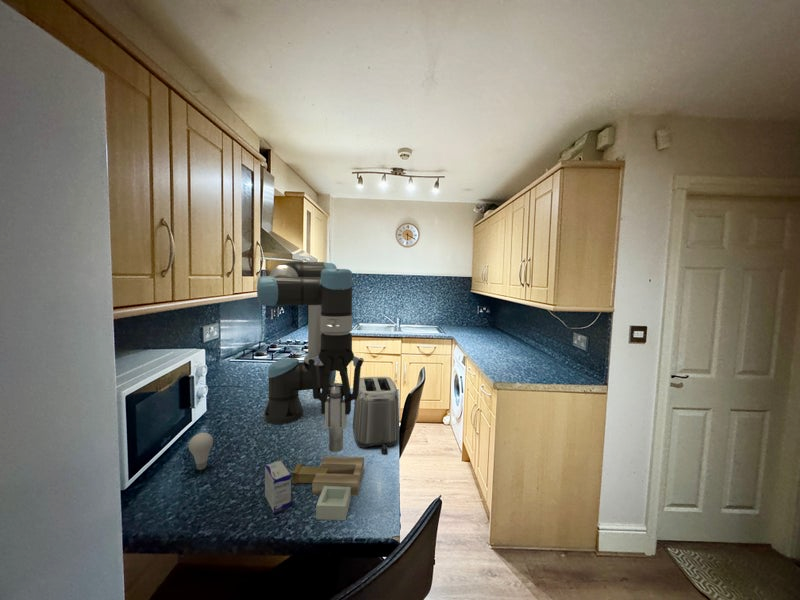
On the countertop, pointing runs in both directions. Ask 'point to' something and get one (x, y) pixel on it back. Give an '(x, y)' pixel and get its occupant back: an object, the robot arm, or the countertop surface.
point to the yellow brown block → (306, 473)
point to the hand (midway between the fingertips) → (336, 426)
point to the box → (278, 486)
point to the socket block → (339, 474)
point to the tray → (333, 503)
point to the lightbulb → (201, 449)
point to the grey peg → (335, 417)
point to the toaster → (376, 413)
